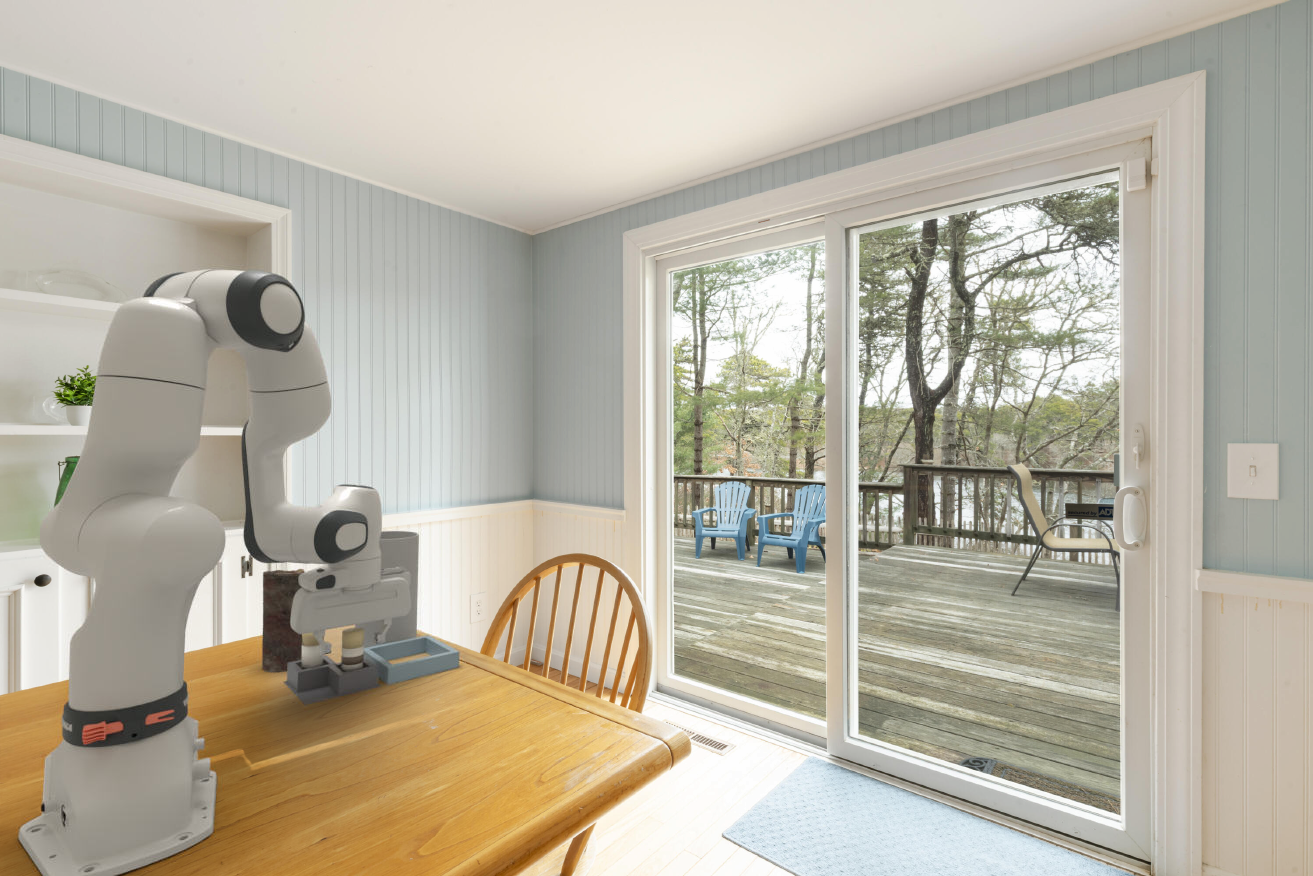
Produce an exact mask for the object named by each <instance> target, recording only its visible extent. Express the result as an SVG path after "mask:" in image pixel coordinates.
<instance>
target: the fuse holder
mask: <svg viewBox="0 0 1313 876" xmlns="http://www.w3.org/2000/svg"><path fill="white" fill-rule="evenodd" d="M341 666H342V664H341V662H336V661H334V659H332V658H330V657H329V656H328V654H325V655H324V662H323V666H318V667H313V668H309V669H304V670H302V669H301V660H299V661H294V662H289V663H287V671H286V673H287V675H286V681H283V684H284V685H286V686H287V688H288V689H289V690H290V691H291V692H293V694H294V695H295V696H296V698H298V700H300V701H301V702H302V703H303V705H305V706H307V705H311V704H314V703H319V702H322V701H323V702H324V701H327V700H331V699H335V698H339V697H343V696H344V697H345V696H347V695H351V694H355V693H356V694H357V693H359V692H364V691H367V690H371V689H375V688H380V687H381V685H380V684H379V683H378V677H377V674H378V667H377V666H376V665H374V664H373V663H372V662H370V661H369V660H367V659H366V658H365V657H364V661H363V668H361V669H357V670H352V671H348V672H342V671H341Z"/></svg>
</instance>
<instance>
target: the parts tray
mask: <svg viewBox="0 0 1313 876" xmlns="http://www.w3.org/2000/svg"><path fill="white" fill-rule="evenodd" d="M423 653H426V654H427V655H429V656H424V657H420V658H417V659H410V660H407V661H401V662H398V663H391V662H389V661H393V660H397V659H400V658H406V657H410V656H416V655H419V654H423ZM364 657H365V658H366V659H367V660H369V661H370V662H372V663H373V664H374V665H376V666H377V667H378V674H377V679H380V680H381V681H382V682H383V683H385V684H386V685H387V686H389V685H394V684H397V683H402V682H405V681H409V680H413V679H417V678H422V677H426V676H429V675H434V674H438V673H442V672H446V671H451V670H454V669H459V668H460V651H459V650H457V649H456V648H454V647H452V646H450V645H448V644H446V643H445V642H443V641H440V640H439V639H437V638H435V637H433V636H431V635H429V634H427V635H423V636H418V637H417V638H412V639H407V640H402V641H397V642H392V643H387V644H382V645H377V646H372V647H367V648H364Z"/></svg>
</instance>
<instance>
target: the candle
mask: <svg viewBox="0 0 1313 876" xmlns="http://www.w3.org/2000/svg"><path fill="white" fill-rule="evenodd" d="M305 572H306V571H305V569H303V568H298V569H297V570H284V569H276V570H268V571H264V572H263V573H262V642H261V643H262V645H261V646H262V647H261V649H262V653H261V654H262V656H261V657H262V659H261V661H262V664H261V665H262V670H263V671H264V672H266V673H284V672H285V673H287V663H289V662H294V661H299V660H301V658H302V634H298V633H297V632H295V631H294V630H293V629H292V628H291V624H290V620H291V610H292V603H293V599H294V596H295V594H296V592H297V591H298V590H299V589H300V588H302V587H301V586H300V585H299V582H298V578H299V576H300V575H301V574H303V573H305Z"/></svg>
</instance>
